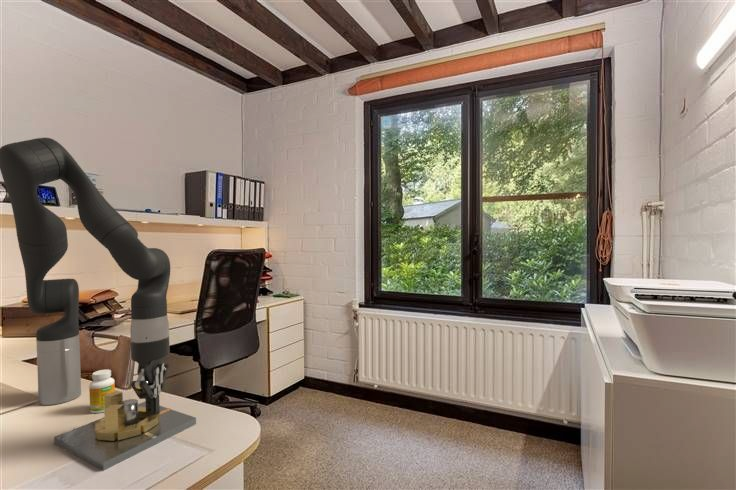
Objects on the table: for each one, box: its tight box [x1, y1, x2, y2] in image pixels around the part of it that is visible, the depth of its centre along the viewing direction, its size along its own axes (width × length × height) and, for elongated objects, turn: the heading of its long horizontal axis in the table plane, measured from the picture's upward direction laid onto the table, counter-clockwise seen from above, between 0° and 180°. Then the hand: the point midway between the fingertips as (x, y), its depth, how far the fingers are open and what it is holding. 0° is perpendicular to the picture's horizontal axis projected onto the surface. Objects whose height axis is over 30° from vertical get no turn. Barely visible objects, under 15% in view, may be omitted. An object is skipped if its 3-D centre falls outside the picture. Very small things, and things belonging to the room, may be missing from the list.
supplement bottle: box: [88, 368, 116, 414], centre depth 98 cm, size 5×5×10 cm
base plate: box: [53, 398, 197, 471], centre depth 85 cm, size 20×20×7 cm
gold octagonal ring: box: [95, 390, 161, 441], centre depth 85 cm, size 12×12×7 cm
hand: (152, 413), depth 85 cm, fingers closed
